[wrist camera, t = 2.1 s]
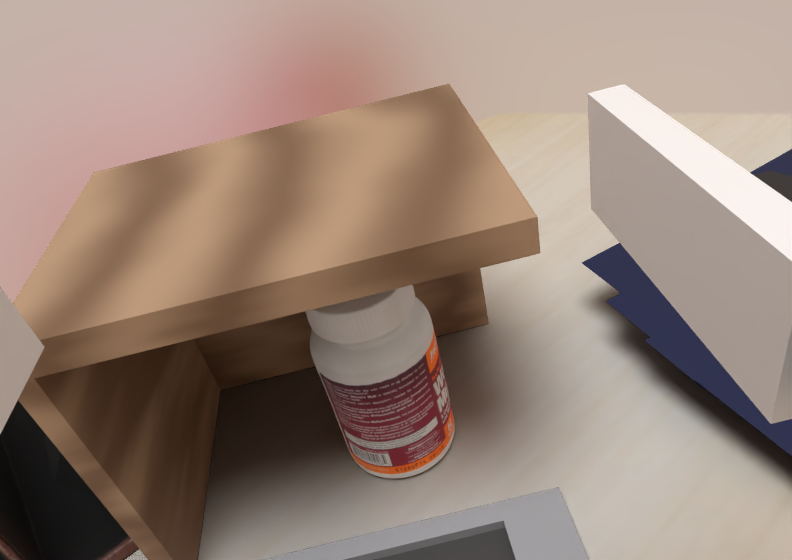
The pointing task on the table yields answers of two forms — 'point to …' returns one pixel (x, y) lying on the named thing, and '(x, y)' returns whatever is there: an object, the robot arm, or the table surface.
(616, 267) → the navy blue folder
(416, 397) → the pill bottle
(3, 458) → the letter holder
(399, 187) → the cubby
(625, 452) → the table surface
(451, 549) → the board
